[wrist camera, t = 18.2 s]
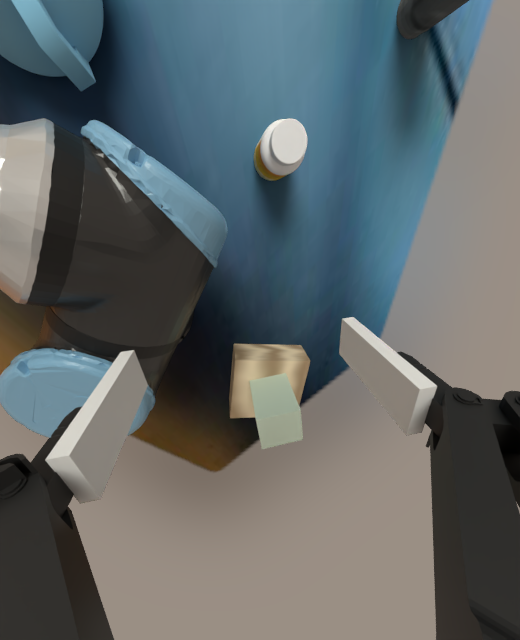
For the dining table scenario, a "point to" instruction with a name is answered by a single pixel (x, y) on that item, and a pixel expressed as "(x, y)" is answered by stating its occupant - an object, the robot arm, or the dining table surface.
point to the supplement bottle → (280, 149)
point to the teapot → (52, 36)
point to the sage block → (276, 411)
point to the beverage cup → (423, 15)
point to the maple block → (264, 372)
